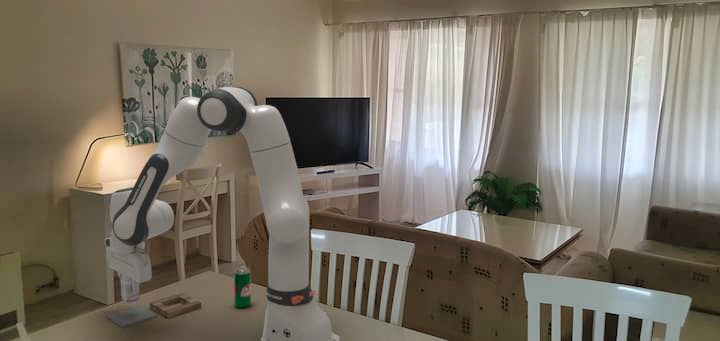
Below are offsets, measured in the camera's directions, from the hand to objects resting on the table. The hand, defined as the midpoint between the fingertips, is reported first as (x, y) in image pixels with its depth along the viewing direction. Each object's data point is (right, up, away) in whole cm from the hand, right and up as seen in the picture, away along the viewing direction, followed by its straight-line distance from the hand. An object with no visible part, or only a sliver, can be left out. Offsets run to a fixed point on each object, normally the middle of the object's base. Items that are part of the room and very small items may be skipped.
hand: (129, 289), depth 159 cm
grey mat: (0, -9, +1) cm, 9 cm away
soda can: (+30, -8, +12) cm, 34 cm away
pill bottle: (0, -4, +1) cm, 4 cm away
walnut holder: (+10, -8, +9) cm, 16 cm away
